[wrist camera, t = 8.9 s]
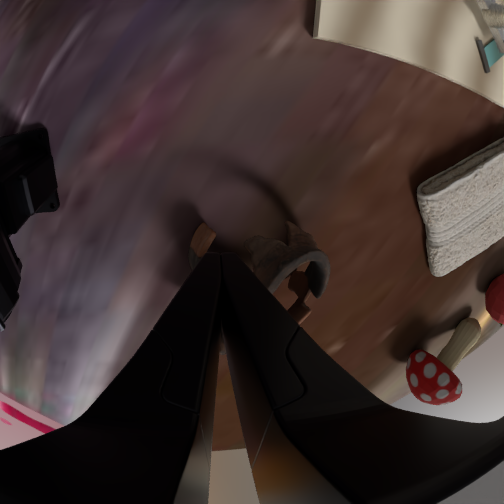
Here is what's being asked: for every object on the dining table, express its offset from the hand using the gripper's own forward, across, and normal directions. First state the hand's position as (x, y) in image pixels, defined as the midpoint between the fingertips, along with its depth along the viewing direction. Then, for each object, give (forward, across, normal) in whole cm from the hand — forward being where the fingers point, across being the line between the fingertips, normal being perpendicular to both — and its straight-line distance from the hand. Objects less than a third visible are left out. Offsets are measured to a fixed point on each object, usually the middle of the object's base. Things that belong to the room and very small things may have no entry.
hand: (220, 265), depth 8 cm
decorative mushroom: (+14, -34, +26) cm, 45 cm away
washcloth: (+14, -27, +2) cm, 31 cm away
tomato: (+14, -40, +15) cm, 45 cm away
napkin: (+13, -16, -17) cm, 27 cm away
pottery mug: (+13, -3, +10) cm, 17 cm away
